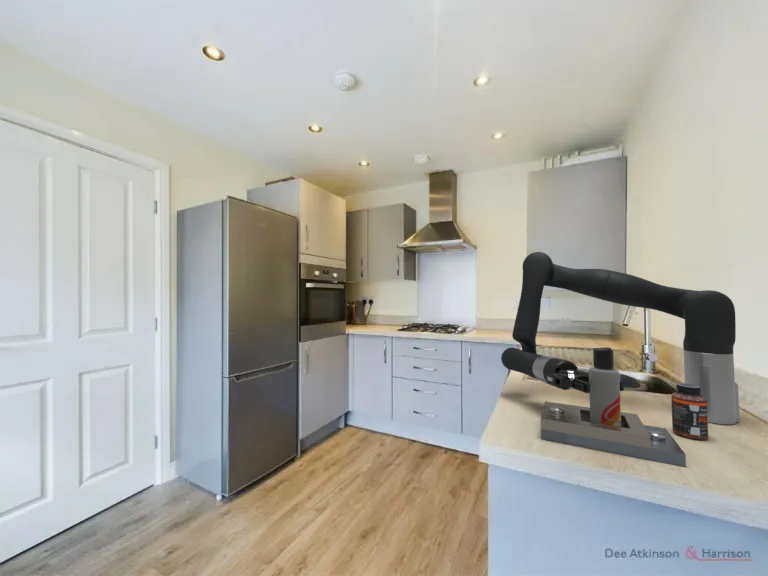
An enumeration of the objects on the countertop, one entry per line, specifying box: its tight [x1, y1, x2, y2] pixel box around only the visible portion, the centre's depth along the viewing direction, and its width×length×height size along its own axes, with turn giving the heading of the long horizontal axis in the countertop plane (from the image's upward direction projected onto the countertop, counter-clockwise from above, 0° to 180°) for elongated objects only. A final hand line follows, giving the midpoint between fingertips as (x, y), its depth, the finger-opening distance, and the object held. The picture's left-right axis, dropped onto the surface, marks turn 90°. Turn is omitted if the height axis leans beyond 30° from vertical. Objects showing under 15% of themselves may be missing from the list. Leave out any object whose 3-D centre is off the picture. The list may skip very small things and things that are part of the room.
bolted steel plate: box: [540, 401, 687, 468], centre depth 71 cm, size 24×14×5 cm, turn 60°
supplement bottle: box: [670, 382, 709, 441], centre depth 73 cm, size 6×6×11 cm
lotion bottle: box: [588, 346, 622, 427], centre depth 72 cm, size 6×6×20 cm
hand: (605, 387), depth 71 cm, fingers open, 8 cm apart
